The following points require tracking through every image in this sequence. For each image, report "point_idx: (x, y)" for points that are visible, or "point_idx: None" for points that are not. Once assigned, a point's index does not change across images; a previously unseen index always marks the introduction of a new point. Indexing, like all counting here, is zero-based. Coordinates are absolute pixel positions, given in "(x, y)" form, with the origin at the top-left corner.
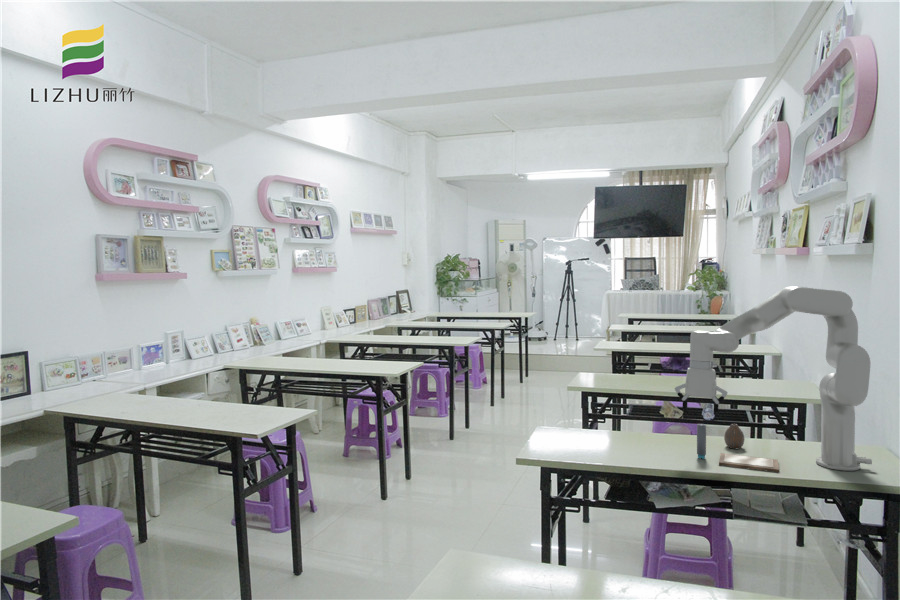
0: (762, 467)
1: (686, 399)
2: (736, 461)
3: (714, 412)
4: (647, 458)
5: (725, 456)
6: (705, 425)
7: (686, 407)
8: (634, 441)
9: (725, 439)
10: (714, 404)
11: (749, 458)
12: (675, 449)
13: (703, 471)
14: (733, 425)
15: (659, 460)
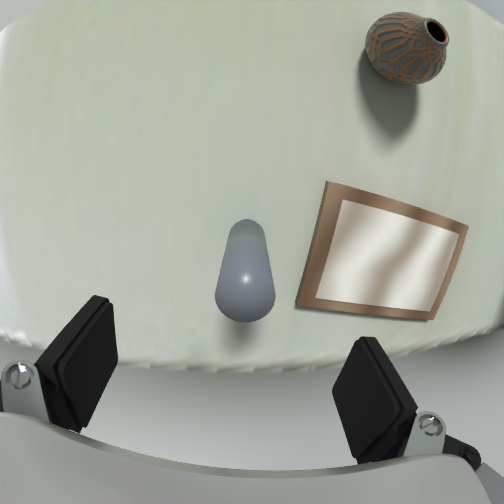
0: (405, 317)
1: (62, 415)
2: (356, 288)
3: (341, 406)
4: (81, 280)
5: (335, 235)
6: (270, 304)
7: (104, 387)
8: (39, 92)
9: (371, 52)
10: (357, 461)
11: (406, 240)
12: (155, 134)
13: (238, 363)
14: (434, 42)
15: (112, 293)
